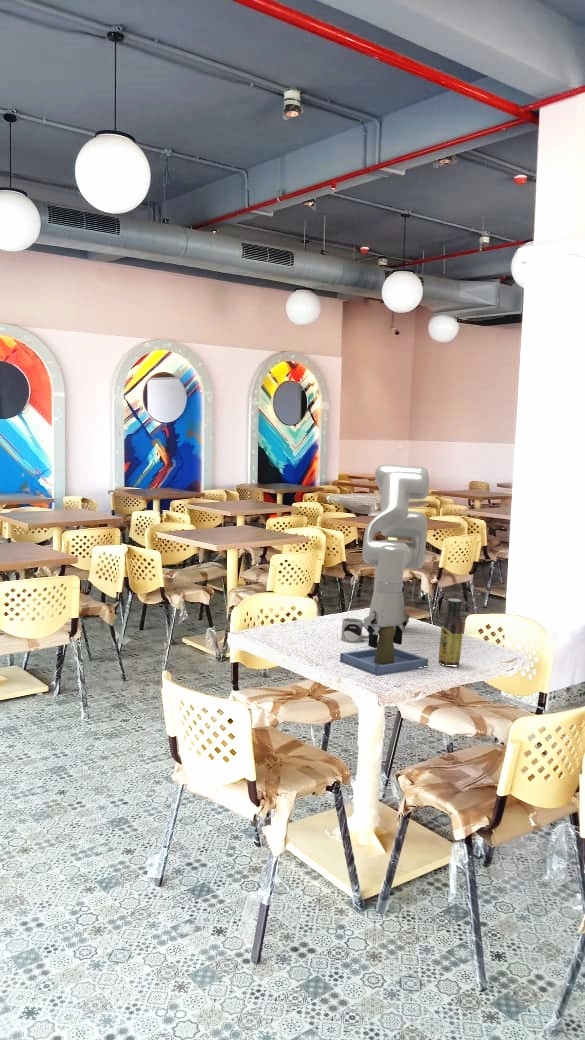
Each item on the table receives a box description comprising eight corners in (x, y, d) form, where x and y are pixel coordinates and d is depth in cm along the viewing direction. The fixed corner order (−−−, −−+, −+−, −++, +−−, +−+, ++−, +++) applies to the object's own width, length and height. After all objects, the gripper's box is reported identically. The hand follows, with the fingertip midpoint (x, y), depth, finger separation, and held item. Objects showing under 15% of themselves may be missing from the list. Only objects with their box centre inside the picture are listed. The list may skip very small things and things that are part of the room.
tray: (389, 654, 253) (390, 646, 253) (427, 667, 240) (428, 659, 240) (340, 661, 241) (340, 653, 241) (376, 675, 228) (377, 667, 228)
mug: (342, 642, 265) (343, 622, 264) (340, 637, 272) (341, 617, 271) (372, 644, 265) (374, 623, 265) (370, 639, 272) (371, 619, 271)
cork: (394, 660, 243) (397, 624, 242) (394, 665, 237) (397, 628, 236) (374, 658, 244) (376, 622, 243) (373, 663, 238) (376, 626, 237)
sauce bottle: (436, 661, 247) (441, 596, 246) (457, 663, 247) (462, 598, 245) (440, 667, 241) (445, 600, 239) (461, 668, 241) (466, 602, 239)
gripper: (401, 583, 247) (397, 639, 248) (358, 587, 236) (354, 645, 238) (419, 588, 241) (415, 645, 242) (375, 592, 230) (371, 651, 232)
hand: (385, 645), depth 240 cm, fingers open, 9 cm apart
